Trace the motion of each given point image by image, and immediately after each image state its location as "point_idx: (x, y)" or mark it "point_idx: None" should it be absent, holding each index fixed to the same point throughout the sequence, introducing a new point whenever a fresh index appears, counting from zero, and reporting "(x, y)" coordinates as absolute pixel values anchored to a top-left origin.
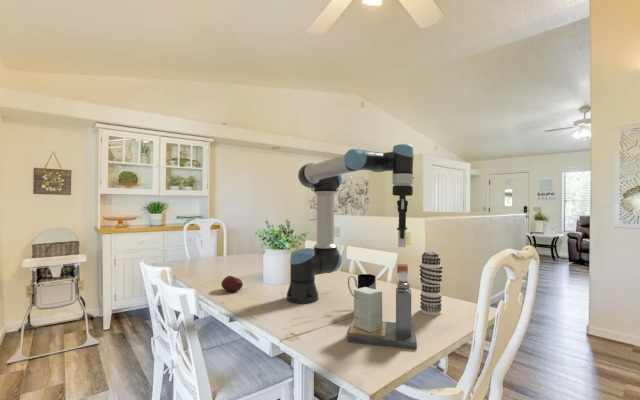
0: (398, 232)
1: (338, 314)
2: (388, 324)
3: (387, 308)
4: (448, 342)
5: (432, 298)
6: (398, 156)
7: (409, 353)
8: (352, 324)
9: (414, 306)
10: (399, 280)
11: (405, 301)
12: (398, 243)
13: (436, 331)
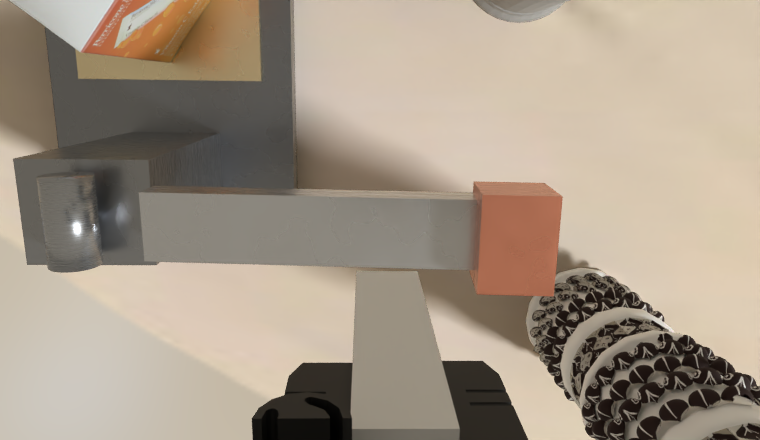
0: (354, 393)
1: None
2: (254, 95)
3: (595, 85)
4: (194, 348)
5: (552, 360)
6: None
7: None
8: None
9: (653, 240)
10: (149, 198)
11: None
12: (356, 294)
13: (304, 315)
